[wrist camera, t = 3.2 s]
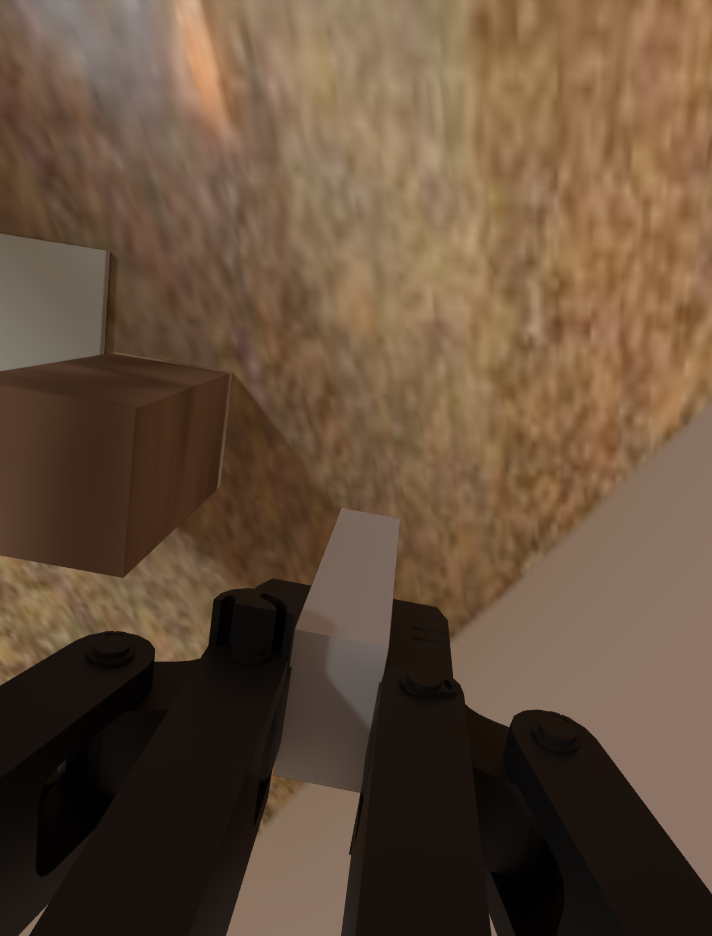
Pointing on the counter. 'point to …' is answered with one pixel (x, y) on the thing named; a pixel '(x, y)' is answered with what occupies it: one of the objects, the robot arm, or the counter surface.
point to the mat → (51, 301)
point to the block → (106, 457)
